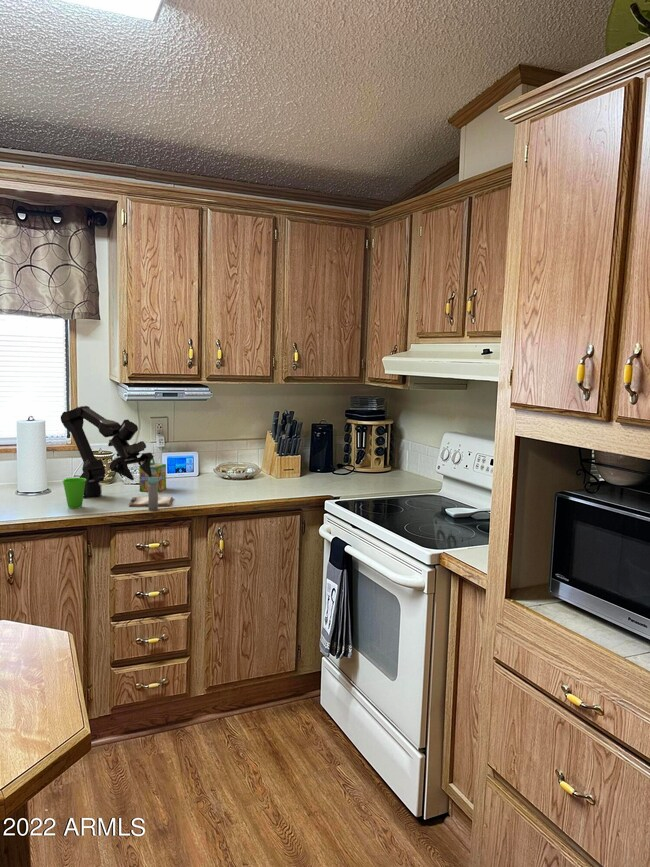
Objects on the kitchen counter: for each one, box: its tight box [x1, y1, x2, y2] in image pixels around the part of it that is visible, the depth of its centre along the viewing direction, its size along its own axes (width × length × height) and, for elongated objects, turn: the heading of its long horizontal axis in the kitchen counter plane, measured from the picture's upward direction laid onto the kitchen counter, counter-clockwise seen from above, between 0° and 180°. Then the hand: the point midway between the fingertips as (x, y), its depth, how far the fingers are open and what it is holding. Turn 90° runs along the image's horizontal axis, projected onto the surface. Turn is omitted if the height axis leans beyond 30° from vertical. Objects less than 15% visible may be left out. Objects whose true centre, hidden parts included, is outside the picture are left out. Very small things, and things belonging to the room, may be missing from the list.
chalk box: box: [138, 457, 167, 493], centre depth 294 cm, size 9×9×15 cm
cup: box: [61, 477, 86, 509], centre depth 261 cm, size 9×9×11 cm
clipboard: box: [128, 496, 173, 508], centre depth 272 cm, size 16×13×2 cm
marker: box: [147, 477, 159, 512], centre depth 259 cm, size 4×4×13 cm
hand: (142, 477), depth 262 cm, fingers open, 9 cm apart
